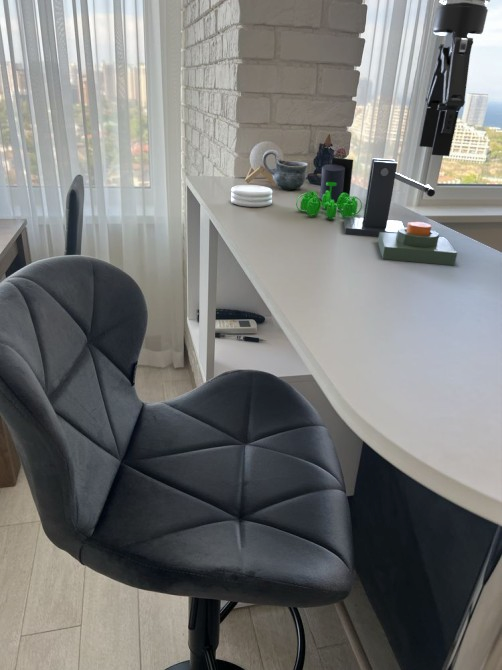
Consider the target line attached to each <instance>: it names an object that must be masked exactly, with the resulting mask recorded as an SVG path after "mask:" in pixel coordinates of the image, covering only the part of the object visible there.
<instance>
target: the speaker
mask: <svg viewBox="0 0 502 670" xmlns="http://www.w3.org/2000/svg"><path fill="white" fill-rule="evenodd" d="M353 167H354V159H351V158H342V157H341V158H340V157H332V159H331V164H324V165H322V167H321V178H320V192H319V193H320V194H319V199H320V200H322V197H323V194H325V192H326V191H329V193H330V186H328V185H326V183H327V182H334V183H337V184H336V186H332V190H331V200H334V202H335V203H337V200H338V198H339V196H340V195H341V194H342V193H347V194H349V197H351V189H352V188H351V186H352V178H353V169H354V168H353ZM346 197H347V195H346Z"/></svg>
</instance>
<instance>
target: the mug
mask: <svg viewBox="0 0 502 670" xmlns="http://www.w3.org/2000/svg"><path fill="white" fill-rule="evenodd" d="M270 155H273V156H274V159H275V166H274V168H271V167H270V166H269V165H268V163H267V157H268V156H270ZM261 161H262V165H263V167H264V169H266V170H267V172H268V173H270V174H271V175H272V180H273V183H274V184H275V185H276V186H278V188H280V189H283V190H296V189H299V188H300V187H302V186H303V185H304V183H305V182H306V179H307V169H308V167H309V164H308V163H307V162H303V161H293V160H284V159H281V158H280V156H279V152H278V151H277V150H276V149H275V150H274V149H268V150H266V151H265V152H264V154H263V156H262V160H261Z"/></svg>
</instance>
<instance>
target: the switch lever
mask: <svg viewBox="0 0 502 670" xmlns="http://www.w3.org/2000/svg"><path fill="white" fill-rule="evenodd" d="M395 180H397V181H399V182H401V183H404V184H405V185H408V186H411V187H412V188H415V189H417V190H419V191H421V192H423V193H425V194H426V196H428V197H429V198H430V197H434V196H435V194H436V191H435V190H434V188H433V187H432V186H430V184H425V185H424V184H423V183H420V182H418V181H415V180H414V179H411V178H410V177H409V178H408V177H407V176H404V175H403V174H400V173H397V172H396V175H395Z"/></svg>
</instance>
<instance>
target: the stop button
mask: <svg viewBox="0 0 502 670" xmlns="http://www.w3.org/2000/svg"><path fill="white" fill-rule="evenodd" d="M406 227H407V231H406V232H407V233H410V234H414V235H422V236H425V235H430V231H431V230H432V224H431V223H428V222H423V221H409V222H407V226H406Z"/></svg>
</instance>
